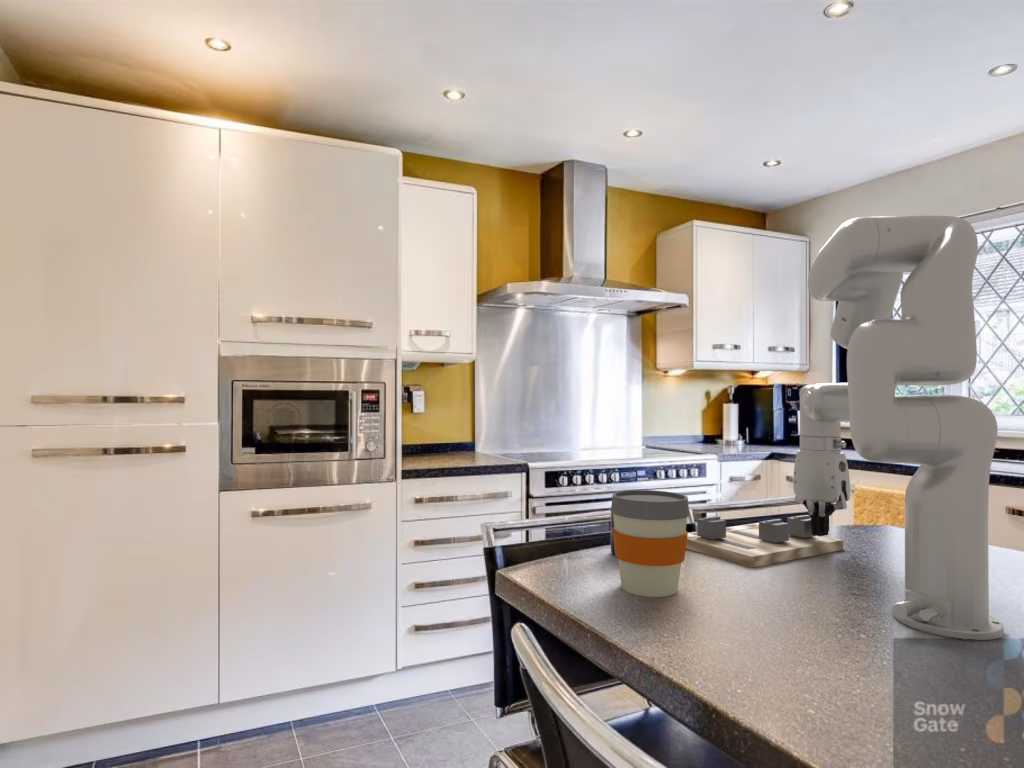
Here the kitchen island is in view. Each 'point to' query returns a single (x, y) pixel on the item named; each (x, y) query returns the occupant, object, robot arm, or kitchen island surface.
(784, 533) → the switch tab
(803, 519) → the switch tab
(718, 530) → the switch tab
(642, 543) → the reusable coffee cup
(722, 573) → the kitchen island surface
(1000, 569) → the kitchen island surface
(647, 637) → the kitchen island surface
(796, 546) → the switch panel
